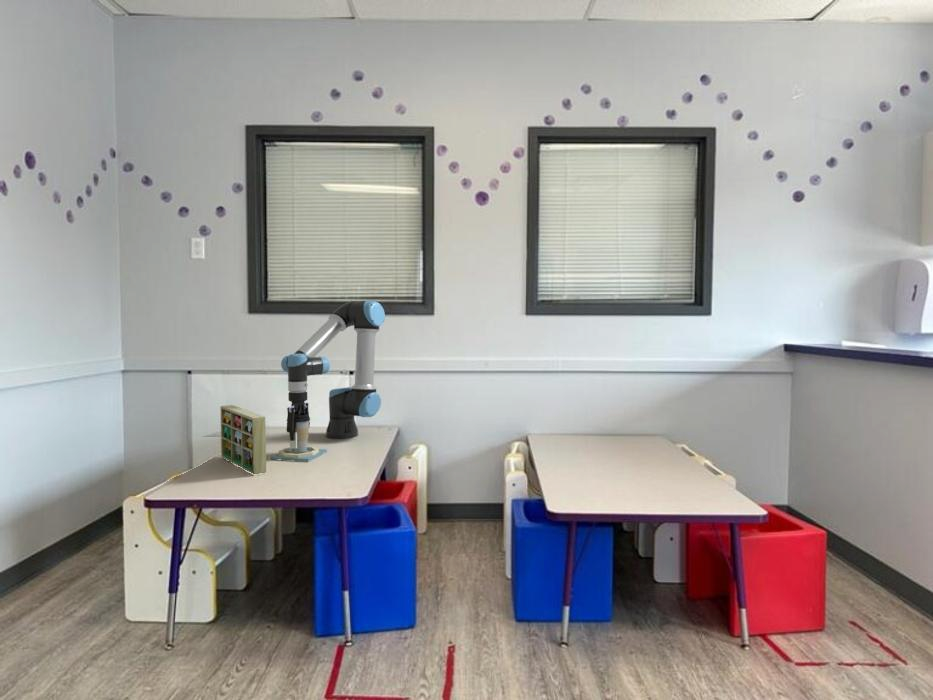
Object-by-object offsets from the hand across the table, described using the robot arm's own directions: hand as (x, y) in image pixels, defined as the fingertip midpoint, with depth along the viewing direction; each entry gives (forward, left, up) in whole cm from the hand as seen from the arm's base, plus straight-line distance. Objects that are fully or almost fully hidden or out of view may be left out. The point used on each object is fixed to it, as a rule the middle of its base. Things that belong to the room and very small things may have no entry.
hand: (298, 445), depth 246 cm
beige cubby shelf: (+19, -14, -5) cm, 24 cm away
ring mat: (0, 0, -4) cm, 4 cm away
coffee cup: (0, 0, -2) cm, 2 cm away
